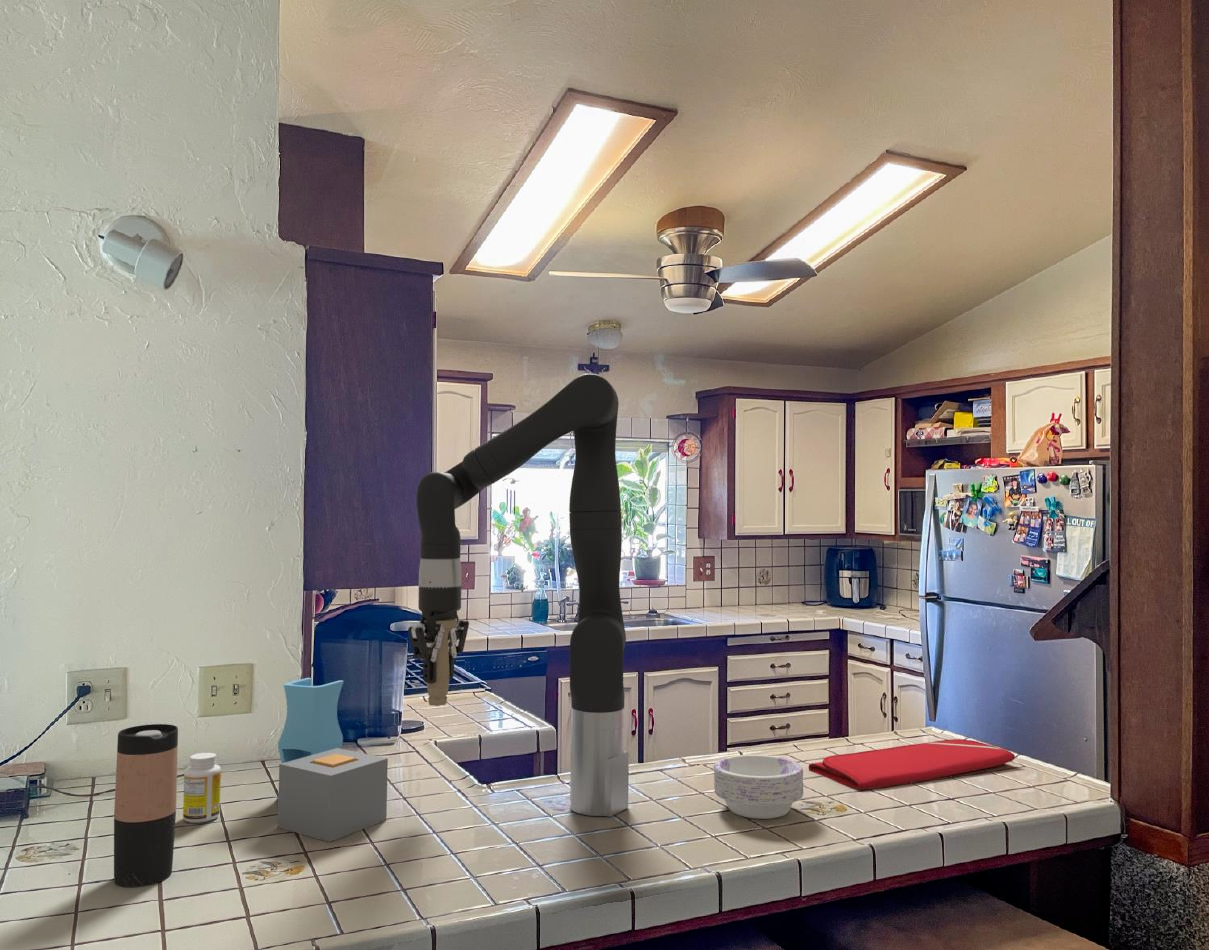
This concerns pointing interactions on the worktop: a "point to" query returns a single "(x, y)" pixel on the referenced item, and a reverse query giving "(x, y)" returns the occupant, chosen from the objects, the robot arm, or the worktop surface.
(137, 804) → the travel mug
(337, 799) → the box
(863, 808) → the worktop surface
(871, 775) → the dish drying mat
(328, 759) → the button
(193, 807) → the supplement bottle
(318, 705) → the vase
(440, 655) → the handle
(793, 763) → the paper bowls
